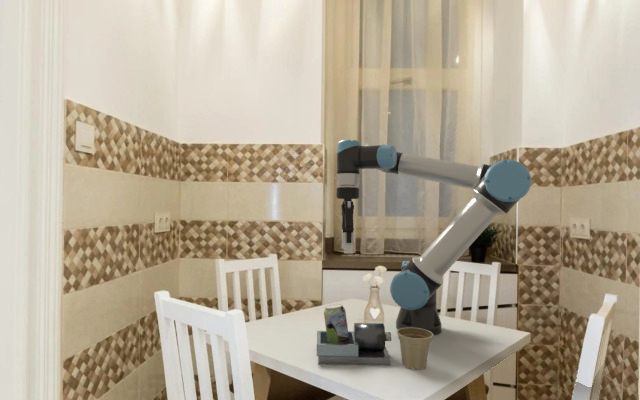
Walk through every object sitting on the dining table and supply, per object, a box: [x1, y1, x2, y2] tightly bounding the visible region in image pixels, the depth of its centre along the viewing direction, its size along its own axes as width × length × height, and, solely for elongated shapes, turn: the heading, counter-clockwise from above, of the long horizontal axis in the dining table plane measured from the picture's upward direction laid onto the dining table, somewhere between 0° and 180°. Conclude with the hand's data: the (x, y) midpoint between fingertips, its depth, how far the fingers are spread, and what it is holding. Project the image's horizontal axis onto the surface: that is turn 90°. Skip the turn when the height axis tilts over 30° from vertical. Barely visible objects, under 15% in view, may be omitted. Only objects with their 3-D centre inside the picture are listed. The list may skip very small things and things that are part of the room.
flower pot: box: [396, 327, 434, 371], centre depth 108 cm, size 9×9×9 cm
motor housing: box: [316, 322, 392, 366], centre depth 114 cm, size 20×13×9 cm, turn 90°
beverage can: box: [323, 303, 350, 344], centre depth 115 cm, size 6×7×12 cm
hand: (347, 251), depth 137 cm, fingers open, 13 cm apart
